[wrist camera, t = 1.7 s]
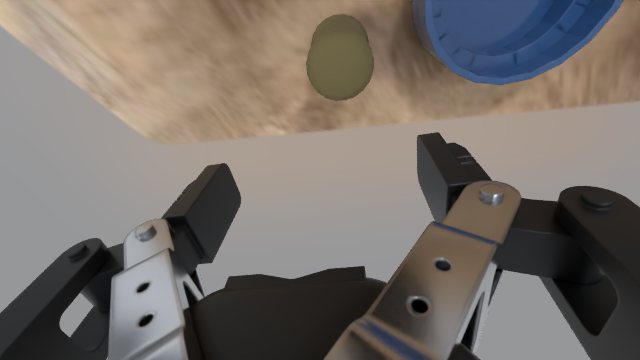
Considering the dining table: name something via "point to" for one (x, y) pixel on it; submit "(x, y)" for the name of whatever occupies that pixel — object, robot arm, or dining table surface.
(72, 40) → the dining table surface
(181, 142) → the dining table surface
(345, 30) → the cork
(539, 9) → the bowl
